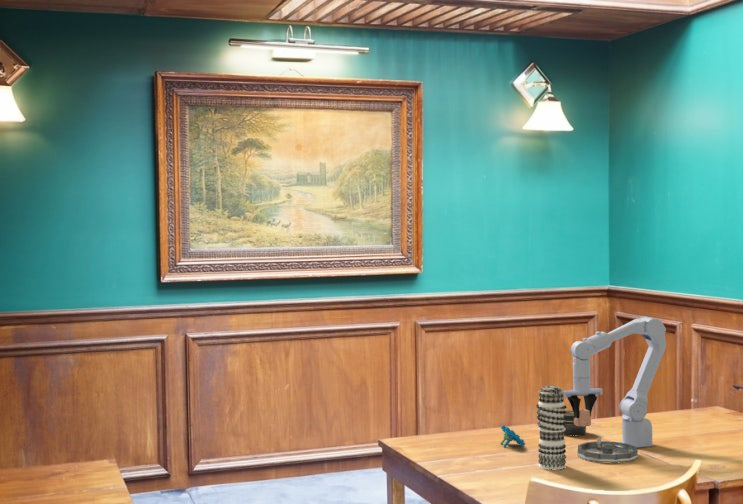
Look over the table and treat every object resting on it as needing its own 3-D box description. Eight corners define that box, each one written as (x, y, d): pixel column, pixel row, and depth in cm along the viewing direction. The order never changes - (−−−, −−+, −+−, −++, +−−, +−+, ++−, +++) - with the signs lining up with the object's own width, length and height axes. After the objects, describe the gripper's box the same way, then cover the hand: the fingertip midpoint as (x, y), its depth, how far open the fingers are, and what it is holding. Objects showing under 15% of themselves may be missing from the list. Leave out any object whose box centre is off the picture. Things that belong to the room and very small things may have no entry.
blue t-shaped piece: (530, 444, 318) (509, 424, 317) (519, 457, 316) (498, 437, 315) (519, 441, 328) (498, 422, 328) (508, 454, 327) (487, 435, 326)
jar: (565, 429, 347) (564, 409, 347) (590, 432, 341) (590, 411, 341) (553, 434, 339) (553, 413, 339) (579, 438, 333) (579, 416, 333)
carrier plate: (617, 447, 318) (617, 431, 317) (649, 460, 299) (649, 443, 299) (566, 452, 312) (566, 436, 312) (596, 465, 294) (596, 448, 294)
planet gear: (585, 422, 321) (585, 408, 321) (593, 425, 316) (593, 410, 316) (571, 423, 320) (571, 409, 320) (579, 427, 315) (578, 412, 314)
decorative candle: (561, 471, 287) (560, 390, 287) (532, 468, 292) (531, 388, 291) (571, 465, 295) (570, 385, 294) (543, 461, 300) (542, 383, 299)
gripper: (595, 374, 323) (595, 413, 324) (556, 376, 319) (557, 416, 320) (605, 377, 317) (606, 417, 317) (566, 379, 313) (567, 420, 313)
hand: (582, 417), depth 318 cm, fingers closed on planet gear, 4 cm apart
